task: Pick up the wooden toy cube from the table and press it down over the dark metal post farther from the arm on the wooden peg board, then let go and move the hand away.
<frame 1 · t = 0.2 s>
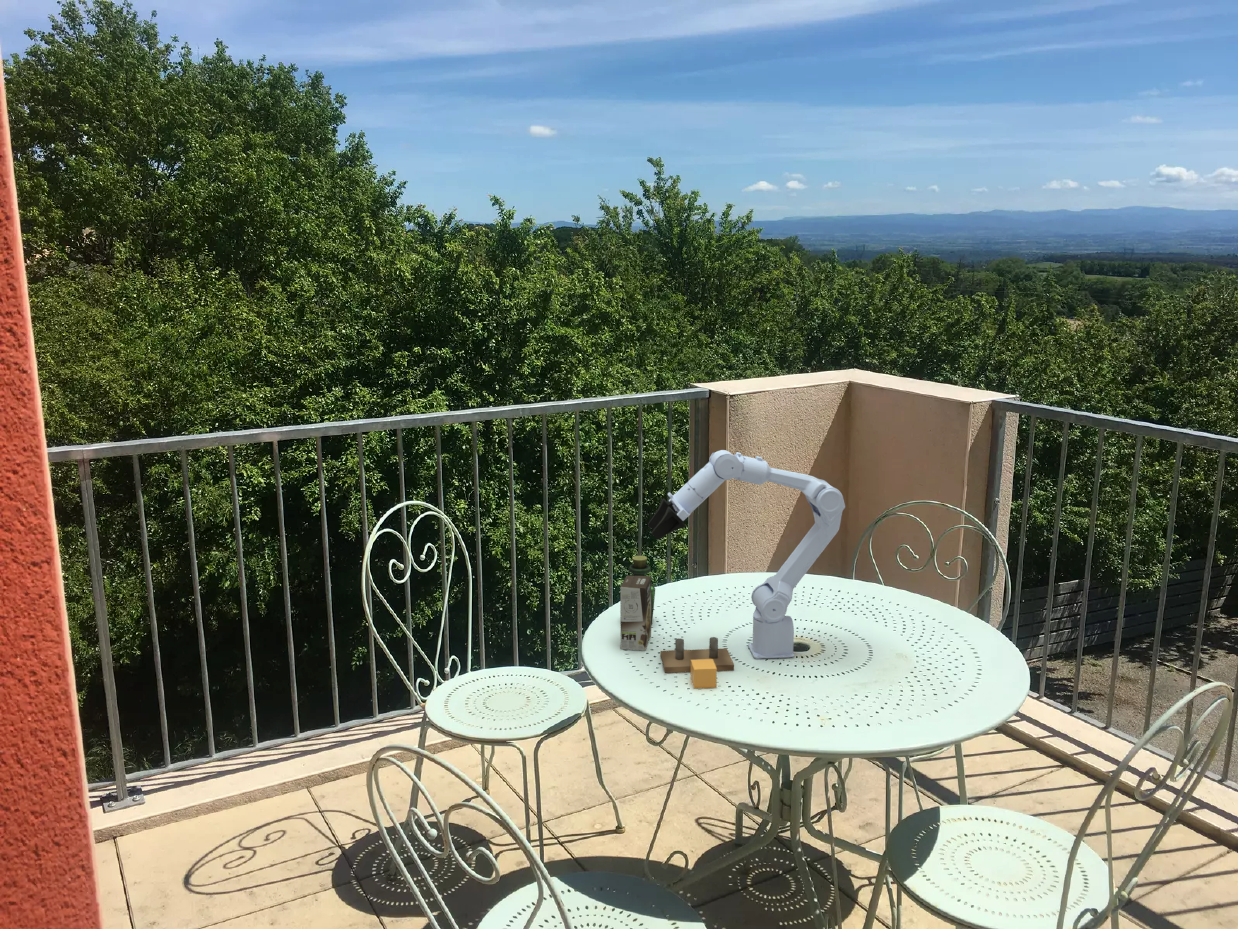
hand: (652, 532, 203), 31 cm above the table, tool tilted 45°, fingers open, 7 cm apart
wooden toy cube: (703, 683, 197), on the table
wooden peg board: (696, 663, 207), on the table
coffee box: (636, 643, 219), on the table
potion bottle: (639, 624, 230), on the table
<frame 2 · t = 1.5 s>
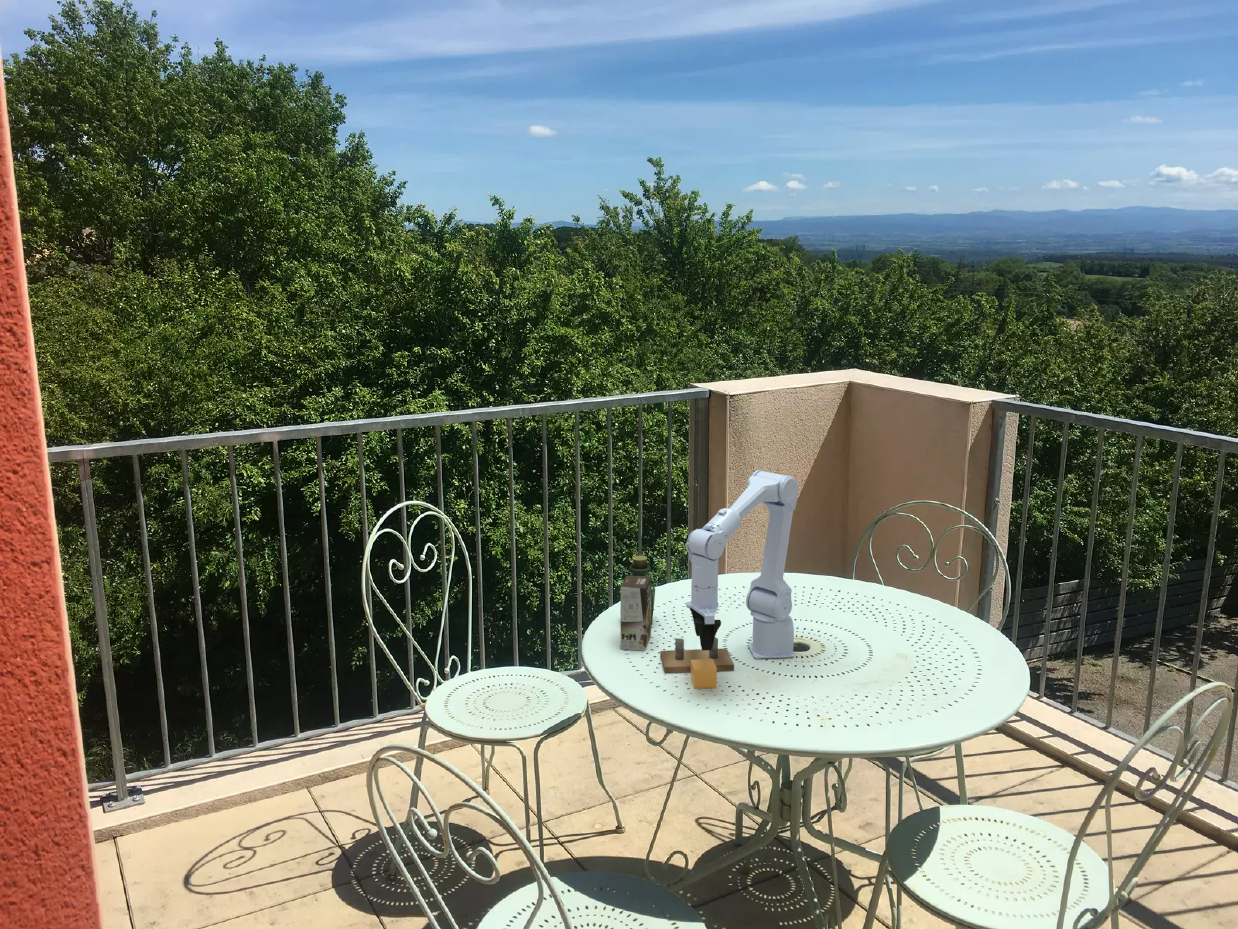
hand: (703, 642, 195), 10 cm above the table, tool pointing down, fingers open, 7 cm apart
nothing on the table moved.
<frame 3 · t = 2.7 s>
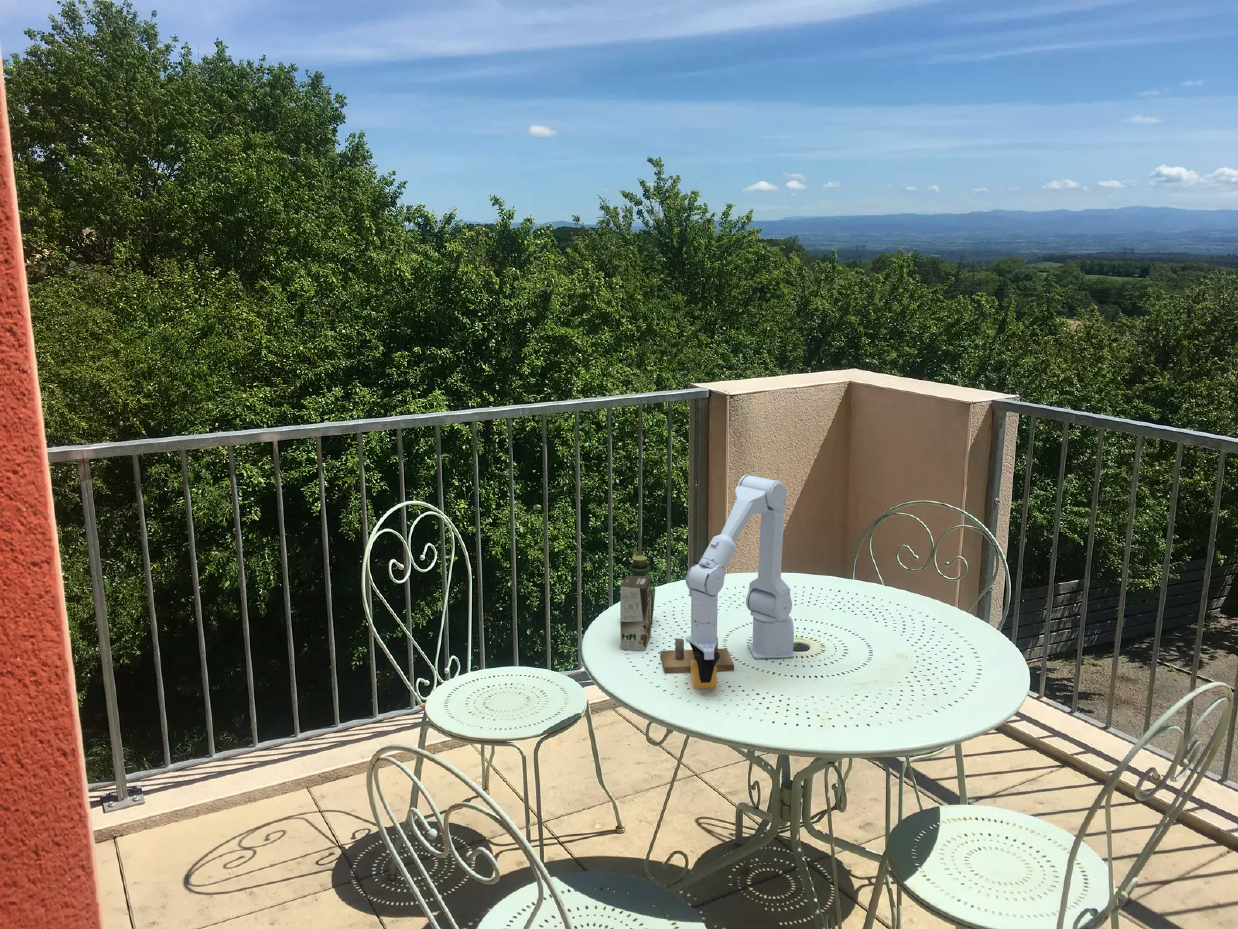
hand: (703, 676, 197), 2 cm above the table, tool pointing down, fingers closed on wooden toy cube, 5 cm apart
wooden toy cube: (703, 683, 197), on the table, touching gripper
everything else where it was.
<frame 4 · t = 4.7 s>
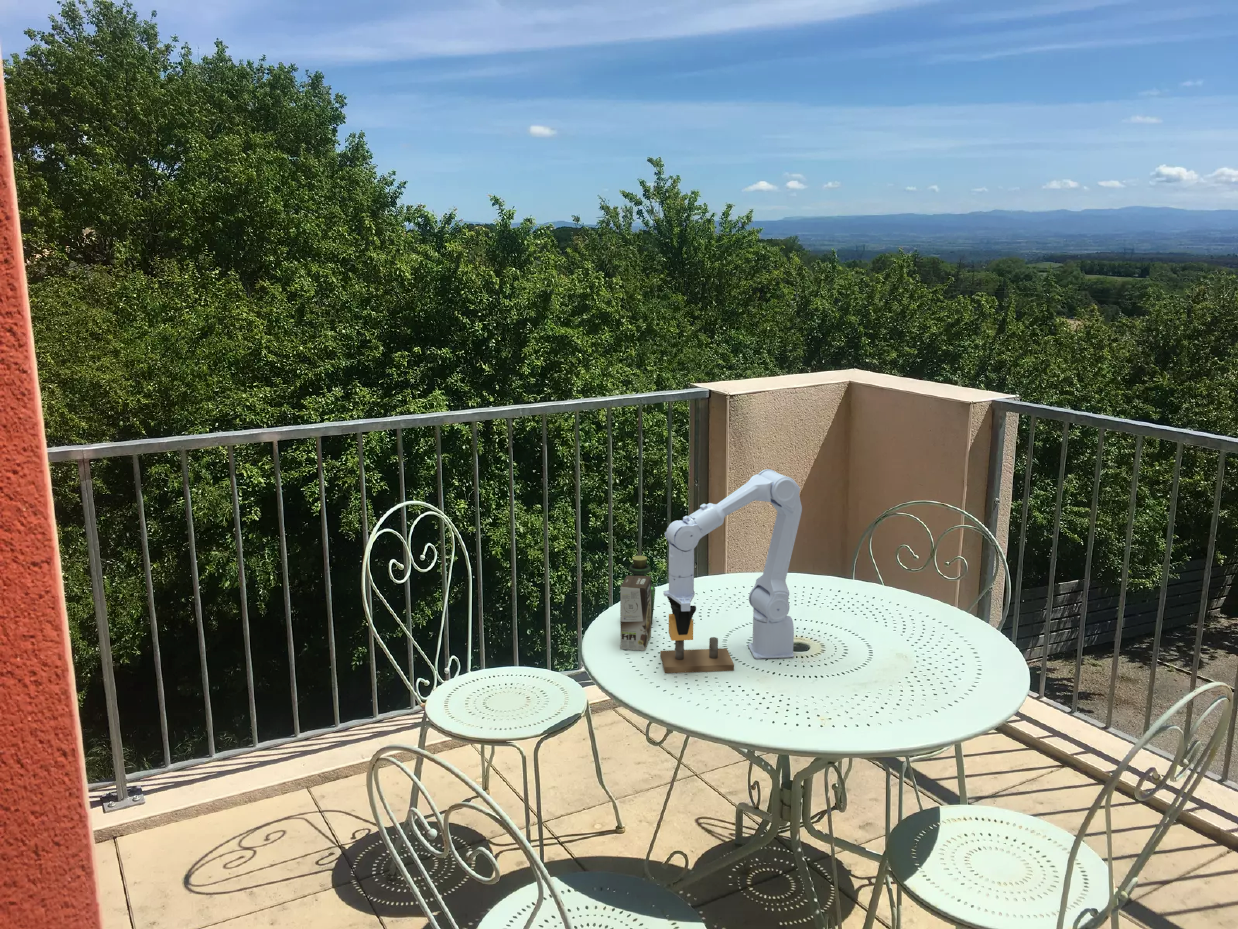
hand: (680, 629, 204), 9 cm above the table, tool pointing down, fingers closed on wooden toy cube, 5 cm apart
wooden toy cube: (680, 636, 204), point 7 cm above the table, touching gripper
everything else where it was.
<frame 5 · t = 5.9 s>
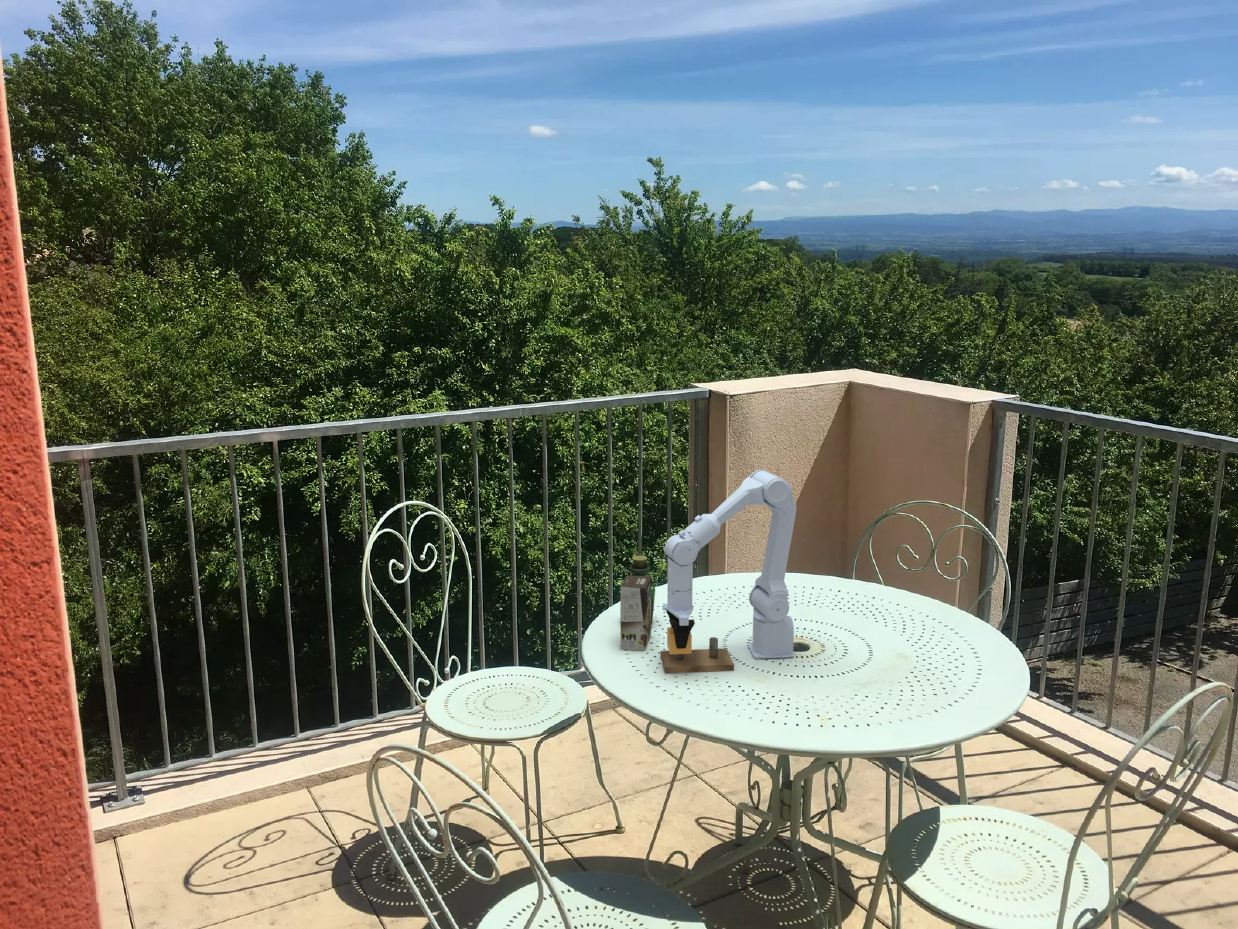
hand: (679, 643, 205), 5 cm above the table, tool pointing down, fingers closed on wooden toy cube, 5 cm apart
wooden toy cube: (679, 649, 206), point 4 cm above the table, touching gripper
everything else where it was.
when the fingers open (5 cm above the table, at t = 6.6 s): wooden toy cube stays where it is, resting on wooden peg board.
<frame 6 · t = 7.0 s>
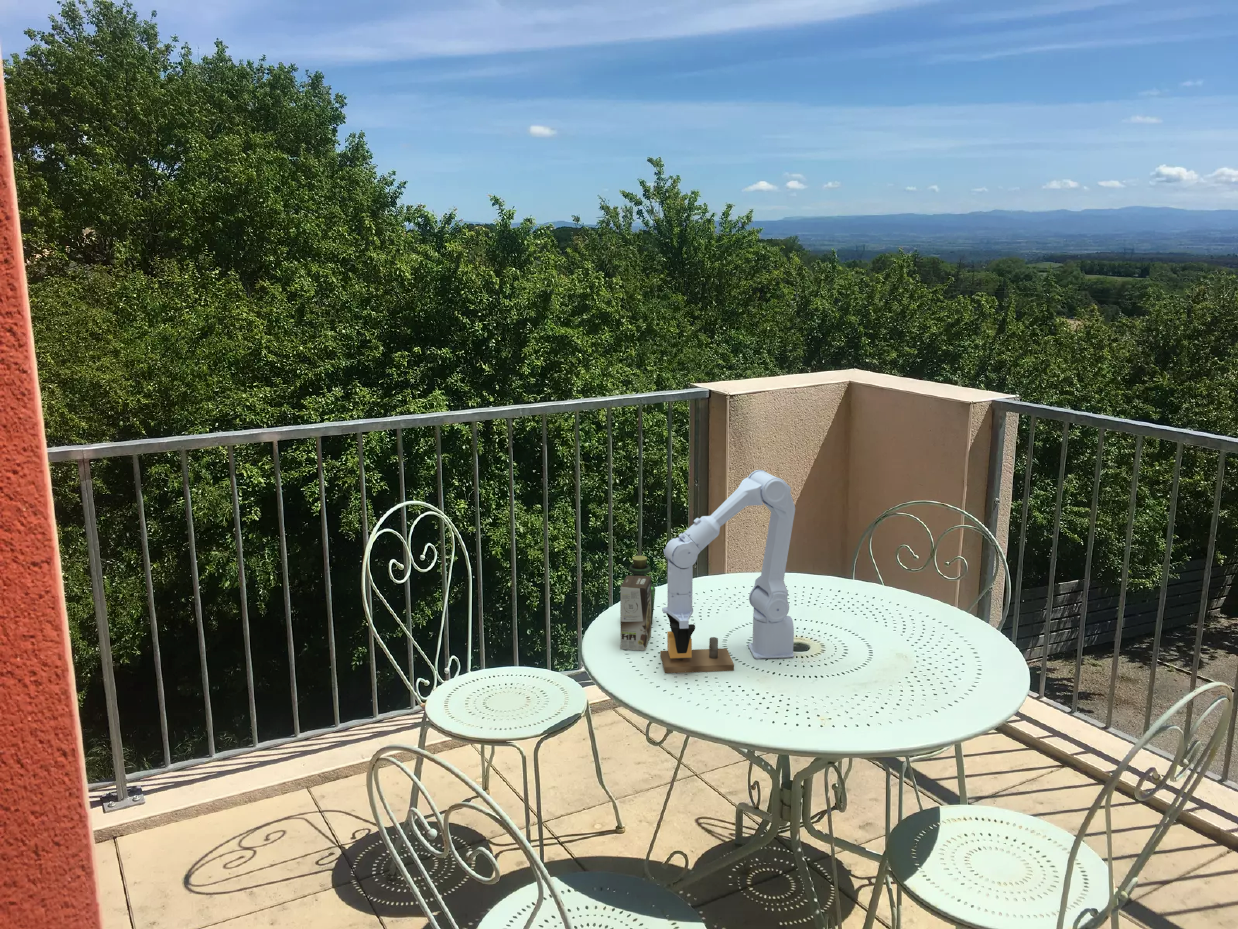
hand: (679, 645, 205), 5 cm above the table, tool pointing down, fingers open, 7 cm apart
wooden toy cube: (679, 653, 206), point 3 cm above the table, touching wooden peg board
everything else where it was.
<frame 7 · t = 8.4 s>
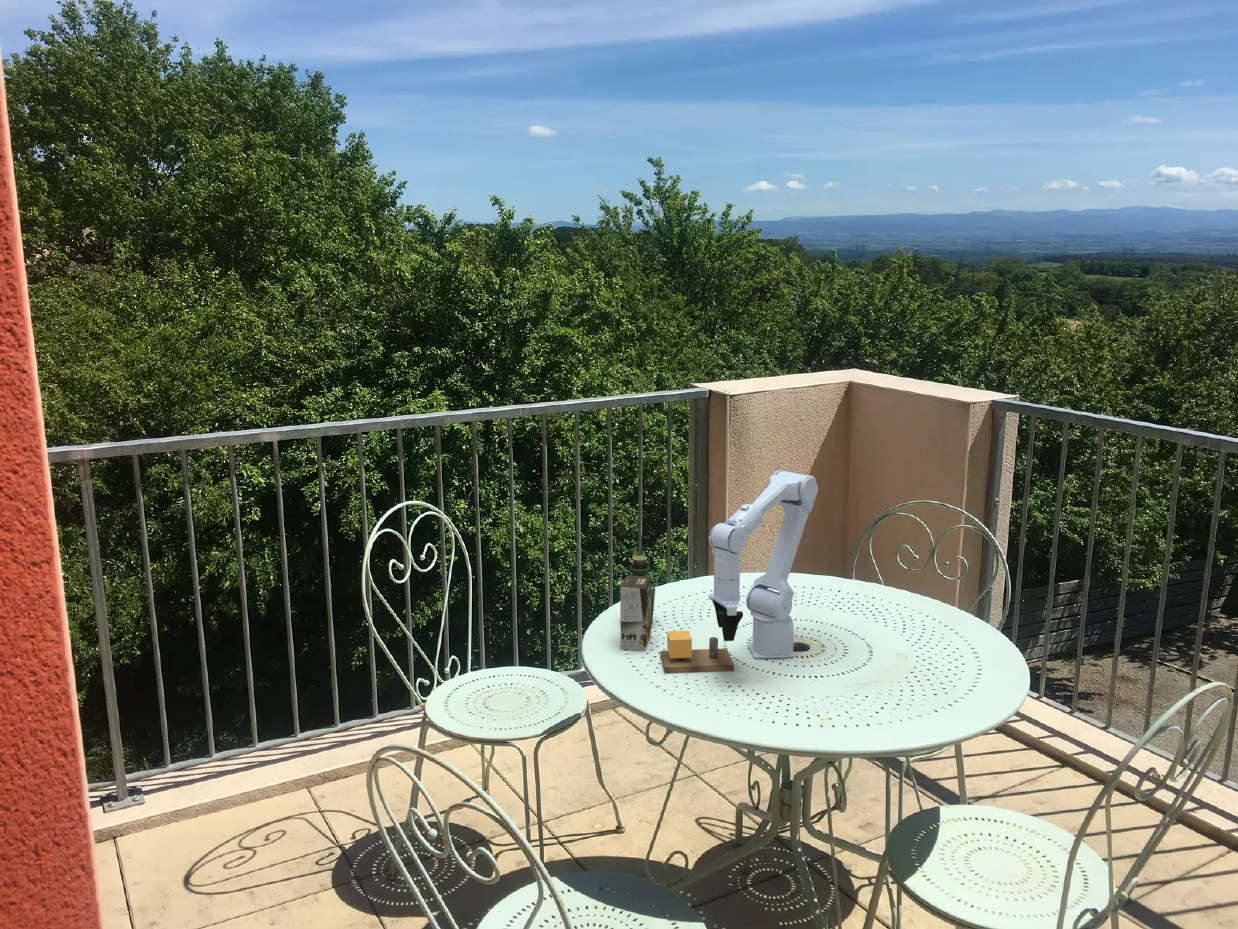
hand: (725, 633, 200), 9 cm above the table, tool pointing down, fingers open, 7 cm apart
nothing on the table moved.
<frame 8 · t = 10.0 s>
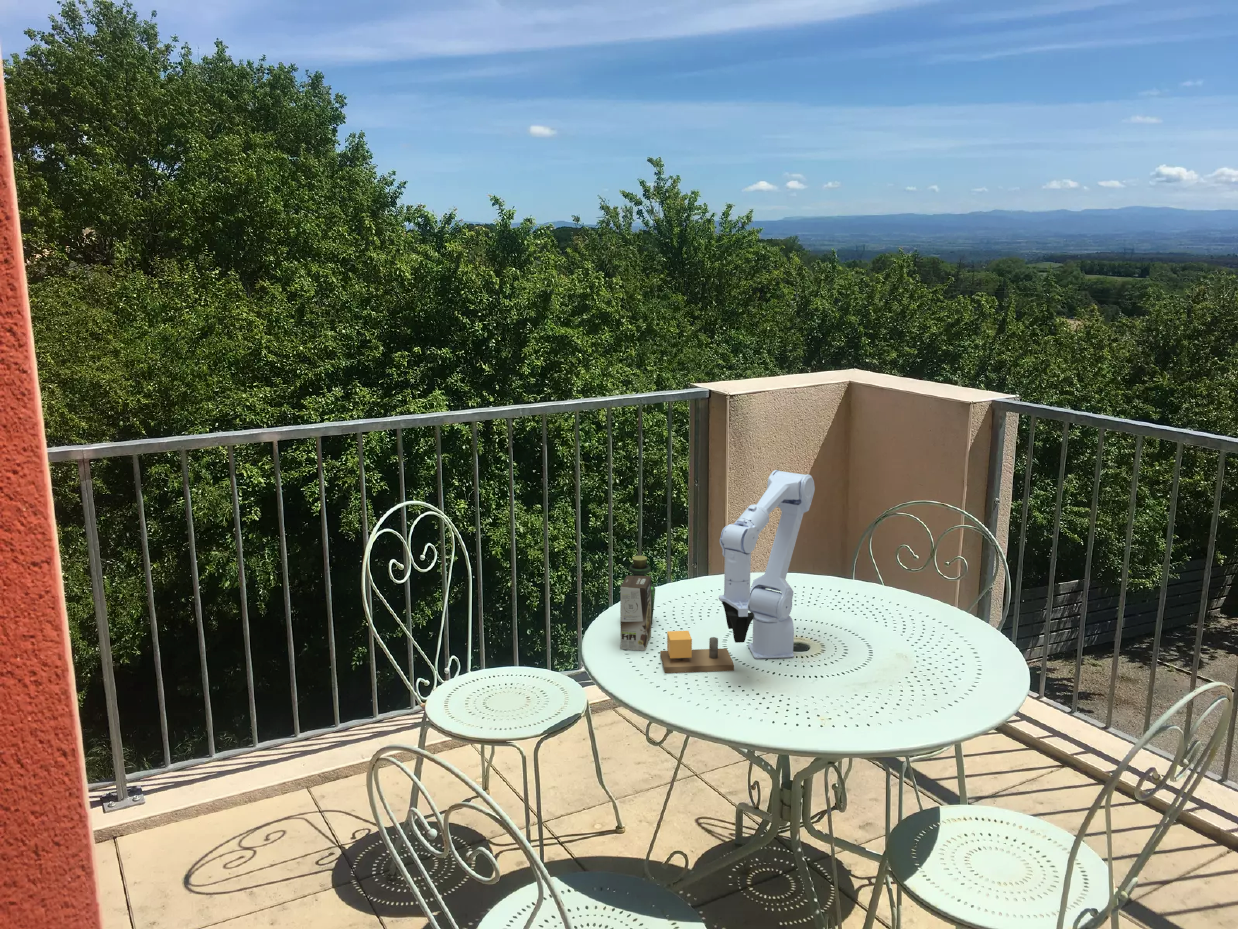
hand: (736, 635, 199), 9 cm above the table, tool pointing down, fingers open, 7 cm apart
nothing on the table moved.
at the end: wooden toy cube 0.1 cm from the target spot on the wooden peg board, point 2.7 cm above the wooden peg board's base; wooden toy cube tilted 0°; the gripper is holding nothing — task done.
